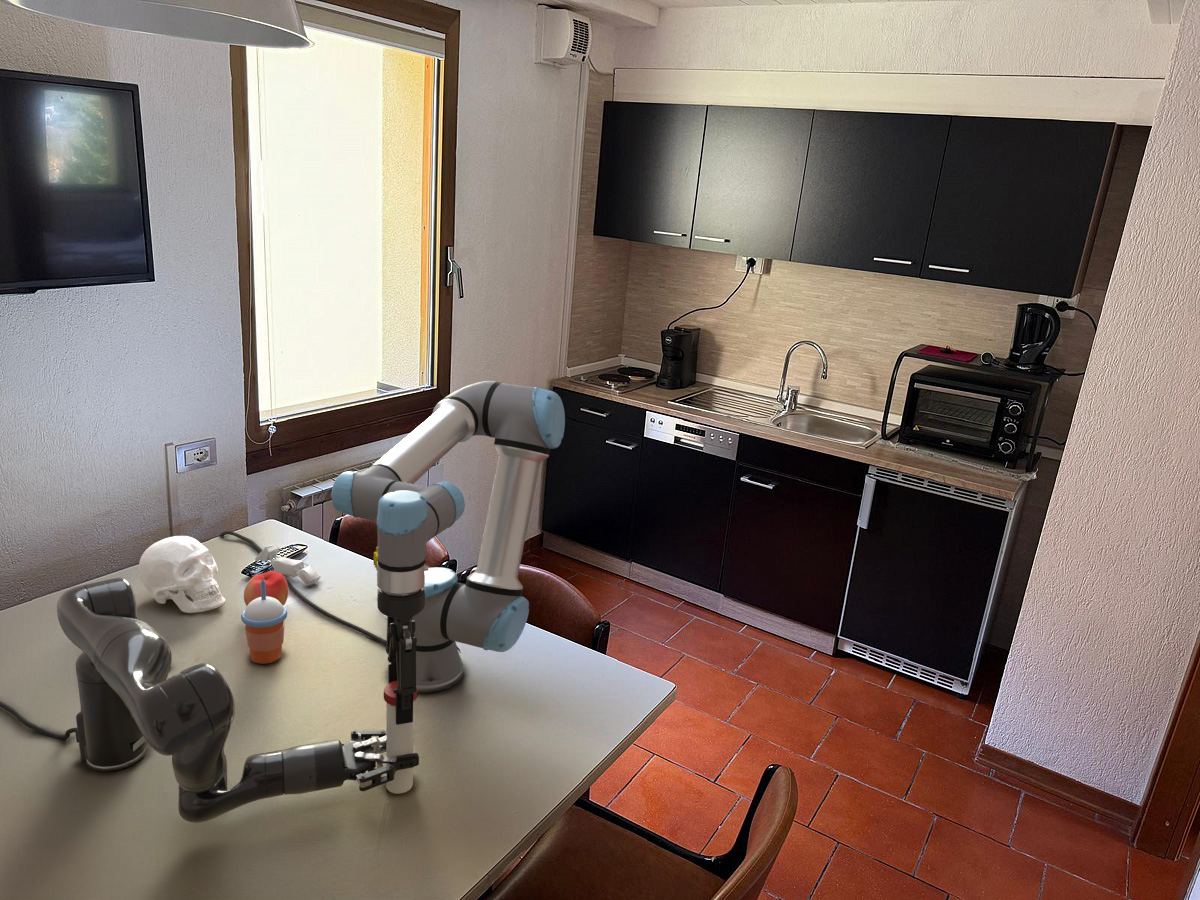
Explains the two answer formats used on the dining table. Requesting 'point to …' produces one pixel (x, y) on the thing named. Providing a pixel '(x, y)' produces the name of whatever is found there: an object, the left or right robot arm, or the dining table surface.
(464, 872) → the dining table surface
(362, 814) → the dining table surface
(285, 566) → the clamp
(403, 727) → the bottle
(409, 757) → the left robot arm
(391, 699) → the lid
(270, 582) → the apple
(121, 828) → the dining table surface
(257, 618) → the cup with straw
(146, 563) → the skull
